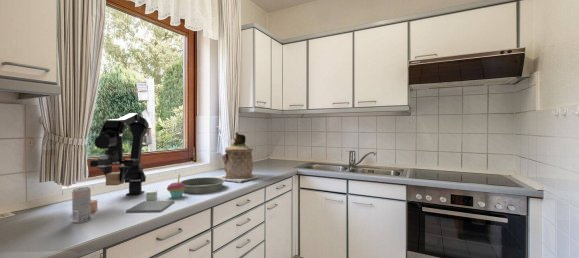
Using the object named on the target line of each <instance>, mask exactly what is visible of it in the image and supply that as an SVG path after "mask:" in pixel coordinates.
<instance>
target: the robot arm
mask: <svg viewBox="0 0 579 258" xmlns="http://www.w3.org/2000/svg"><path fill="white" fill-rule="evenodd" d="M104 121H105V122H104V123H103V125H102V128H101V130H100V132H99V135H98V136H97V137H95V139H94V145H95V147H96V148H97V149H100V150H104V149H105V151H104V154H102V155H100V156H99V157H98V158H97V159H91V160H90V162H89V168H90V167H91V168H92V167H94V168H95V167H96V168H97V169H99V170H100V171H102V173H103V175H104V176H105V178H106V174H108V173H112V172H113V166H114V165H115V166H117V165H119V167H118V170H119V172H120V182H122V181H123V179H124V184H127V183H128V192H127V193H125V195H126V196H137V195H141V194H143V193H145V190H143V189H142V187H143V185H142V184H143V183H145V182H146V180H147V176H146V174H145V173H144V167H143V166H142V164H141V160H142V159H141V157H142V151H143V150H142V149H143V141H144V136H145V135H146V134H147V133H148V129H149V122H148V121H147V119H146V118H144V117H142V116H141V115H140V114H139V113H137V112H135V113H130V112H129V113H127V114H126V115H124V116H121V117H119V118H112V119H110V118H109V119H106V120H104ZM127 127H129V130H130V132H131V135H132V142H131V149H130V150H131V151H130V156H129V157H130V158H128V159H125V157H123V155H124V154H123V152H125V149H124V148H123V144H124V143H123V137H124V138H125V135H124V132H125V130H126V129H127ZM120 165H121V166H120Z"/></svg>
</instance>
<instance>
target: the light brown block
mask: <svg viewBox="0 0 579 258" xmlns="http://www.w3.org/2000/svg"><path fill="white" fill-rule="evenodd" d="M97 211H98V200H97V199H91V214H93V213H96V212H97Z"/></svg>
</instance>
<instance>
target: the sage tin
mask: <svg viewBox="0 0 579 258" xmlns="http://www.w3.org/2000/svg"><path fill="white" fill-rule="evenodd" d="M157 199H158V189H155V190H148V191H146V194H145V201H157Z"/></svg>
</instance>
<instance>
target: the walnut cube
mask: <svg viewBox="0 0 579 258" xmlns="http://www.w3.org/2000/svg"><path fill="white" fill-rule="evenodd" d="M122 184H125V181H124V179H123V181H122V182H120V171H117V172H116V171H114V172H113V171H112V172H111V173H108V174H106V177H105V186H119V185H122Z"/></svg>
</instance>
